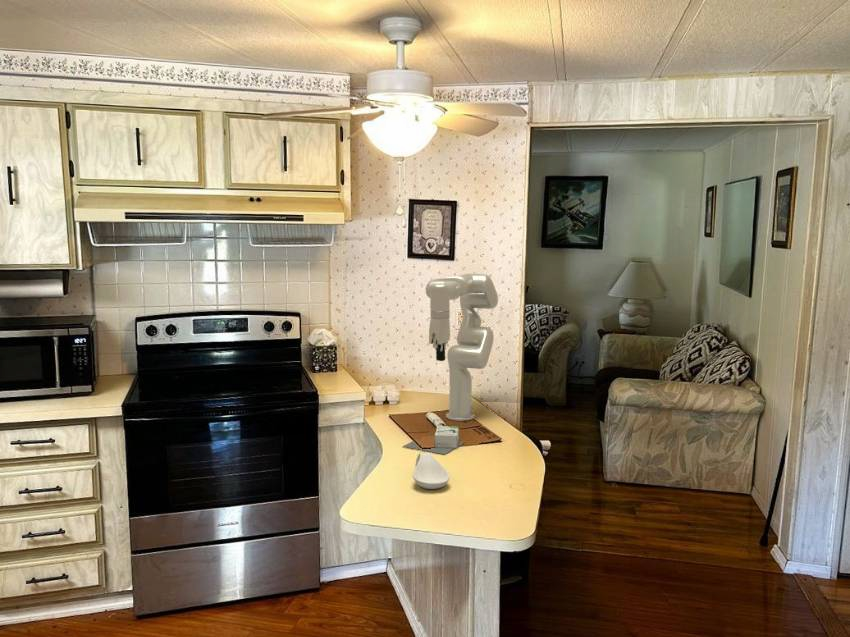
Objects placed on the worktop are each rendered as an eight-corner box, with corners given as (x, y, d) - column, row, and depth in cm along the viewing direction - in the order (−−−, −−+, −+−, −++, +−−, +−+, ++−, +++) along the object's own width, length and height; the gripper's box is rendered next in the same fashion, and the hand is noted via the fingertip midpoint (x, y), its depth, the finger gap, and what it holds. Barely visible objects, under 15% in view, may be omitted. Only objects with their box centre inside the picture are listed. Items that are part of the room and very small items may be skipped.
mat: (423, 436, 271) (423, 435, 271) (464, 443, 263) (464, 442, 262) (402, 447, 258) (402, 446, 258) (444, 455, 249) (444, 454, 249)
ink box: (459, 425, 266) (457, 435, 255) (459, 438, 267) (457, 448, 255) (436, 425, 267) (434, 435, 256) (436, 437, 268) (434, 447, 256)
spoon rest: (453, 492, 215) (453, 470, 214) (416, 494, 213) (416, 472, 212) (437, 466, 238) (437, 446, 237) (404, 468, 236) (404, 448, 235)
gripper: (440, 311, 278) (441, 355, 281) (422, 317, 265) (423, 363, 269) (457, 312, 275) (457, 357, 278) (439, 318, 262) (440, 365, 265)
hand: (440, 360), depth 273 cm, fingers closed
